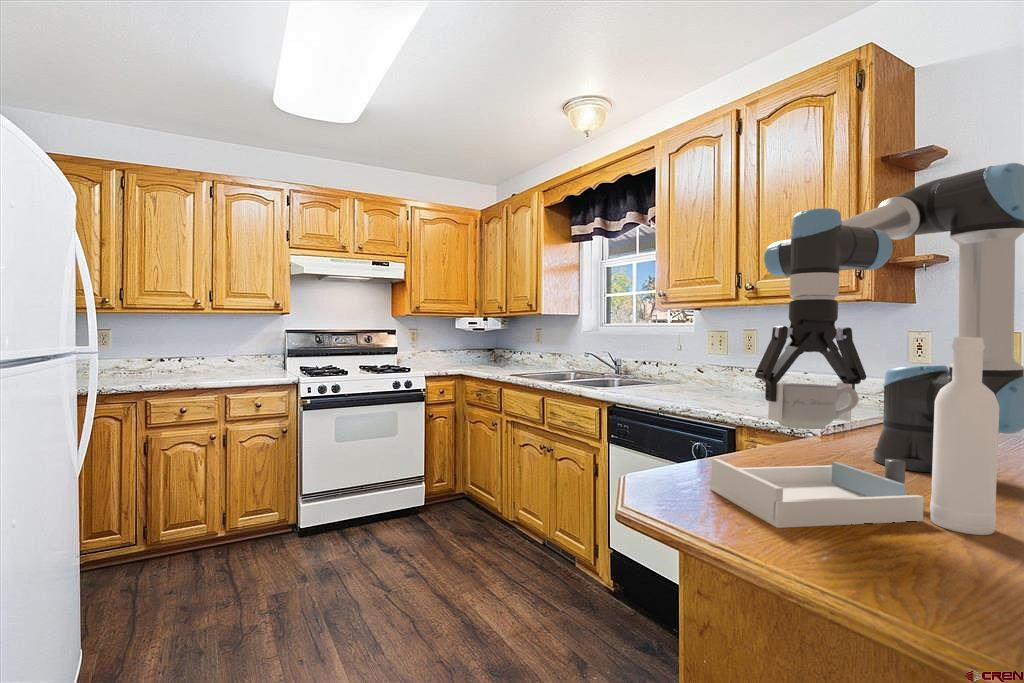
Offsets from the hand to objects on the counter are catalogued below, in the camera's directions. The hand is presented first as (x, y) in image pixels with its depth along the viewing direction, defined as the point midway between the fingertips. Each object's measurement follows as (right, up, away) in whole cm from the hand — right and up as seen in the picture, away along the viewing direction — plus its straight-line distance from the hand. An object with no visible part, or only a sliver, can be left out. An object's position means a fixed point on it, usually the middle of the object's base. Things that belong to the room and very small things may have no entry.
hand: (809, 420), depth 94 cm
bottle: (+19, -16, -9) cm, 26 cm away
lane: (+3, -15, +1) cm, 15 cm away
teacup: (0, -2, 0) cm, 2 cm away
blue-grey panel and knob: (+15, -14, +3) cm, 20 cm away
